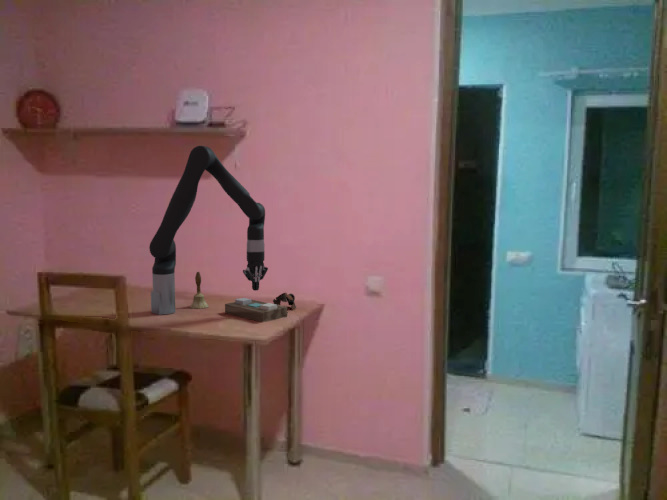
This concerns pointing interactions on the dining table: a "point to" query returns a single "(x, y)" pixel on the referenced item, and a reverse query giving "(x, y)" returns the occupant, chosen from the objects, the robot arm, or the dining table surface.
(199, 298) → the hand bell
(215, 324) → the dining table surface
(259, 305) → the teal key
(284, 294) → the pottery mug
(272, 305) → the cream key
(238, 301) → the grey key
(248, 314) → the console
